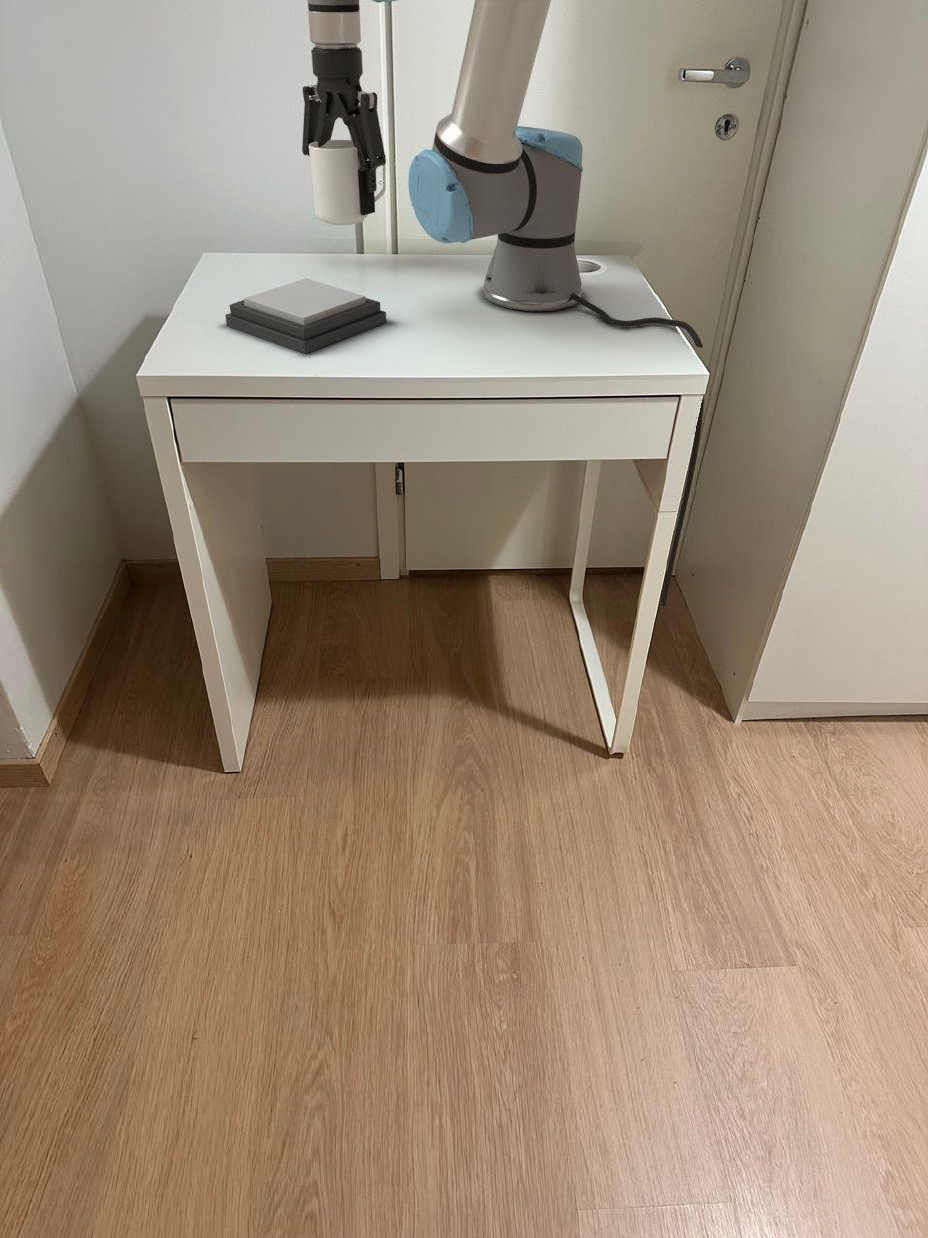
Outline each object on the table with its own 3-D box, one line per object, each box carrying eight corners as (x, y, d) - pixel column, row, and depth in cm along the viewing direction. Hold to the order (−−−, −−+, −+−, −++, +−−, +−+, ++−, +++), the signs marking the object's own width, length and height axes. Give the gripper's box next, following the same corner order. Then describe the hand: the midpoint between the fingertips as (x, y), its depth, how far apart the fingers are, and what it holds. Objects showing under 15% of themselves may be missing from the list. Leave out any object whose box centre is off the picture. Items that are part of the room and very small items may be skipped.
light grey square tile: (366, 305, 125) (365, 295, 124) (304, 327, 118) (303, 317, 117) (306, 287, 131) (306, 277, 130) (244, 307, 123) (243, 297, 122)
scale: (386, 322, 127) (385, 301, 125) (305, 354, 117) (303, 331, 115) (308, 298, 135) (306, 277, 133) (226, 325, 125) (223, 304, 123)
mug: (314, 226, 141) (307, 149, 134) (316, 214, 148) (309, 139, 141) (389, 225, 142) (385, 148, 135) (387, 212, 149) (384, 138, 142)
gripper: (407, 48, 128) (411, 214, 142) (304, 39, 139) (316, 195, 152) (372, 52, 123) (379, 223, 137) (268, 42, 134) (284, 202, 148)
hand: (346, 208), depth 145 cm, fingers closed on mug, 9 cm apart
